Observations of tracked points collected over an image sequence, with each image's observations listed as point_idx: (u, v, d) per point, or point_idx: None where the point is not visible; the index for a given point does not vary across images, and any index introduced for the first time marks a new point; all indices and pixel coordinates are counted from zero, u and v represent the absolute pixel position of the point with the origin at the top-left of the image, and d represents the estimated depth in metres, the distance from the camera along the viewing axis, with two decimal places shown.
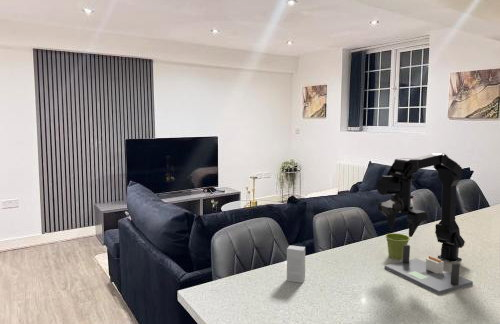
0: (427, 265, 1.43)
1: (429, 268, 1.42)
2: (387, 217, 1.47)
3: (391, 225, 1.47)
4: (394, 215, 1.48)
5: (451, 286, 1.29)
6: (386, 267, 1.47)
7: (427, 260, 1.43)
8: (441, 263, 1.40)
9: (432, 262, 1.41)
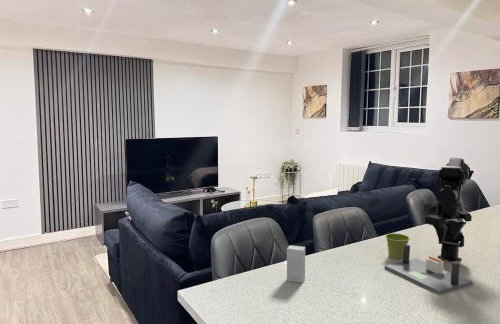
0: (427, 265, 1.43)
1: (429, 268, 1.42)
2: None
3: (452, 234, 1.45)
4: (458, 226, 1.43)
5: (451, 286, 1.29)
6: (386, 267, 1.47)
7: (427, 260, 1.43)
8: (441, 263, 1.40)
9: (432, 262, 1.41)
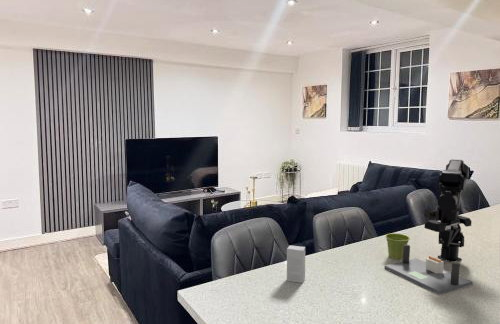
0: (427, 265, 1.43)
1: (429, 268, 1.42)
2: None
3: None
4: None
5: (451, 286, 1.29)
6: (386, 267, 1.47)
7: (427, 260, 1.43)
8: (441, 263, 1.40)
9: (432, 262, 1.41)
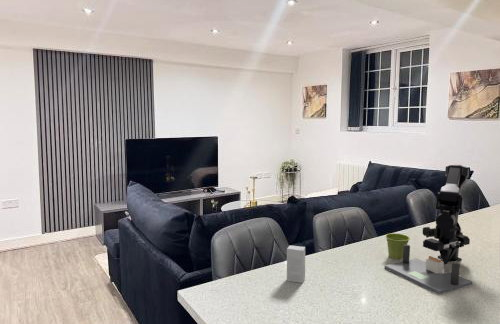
0: (427, 265, 1.43)
1: (429, 268, 1.42)
2: None
3: None
4: None
5: (451, 286, 1.29)
6: (386, 267, 1.47)
7: (427, 260, 1.43)
8: (441, 263, 1.40)
9: (432, 262, 1.41)
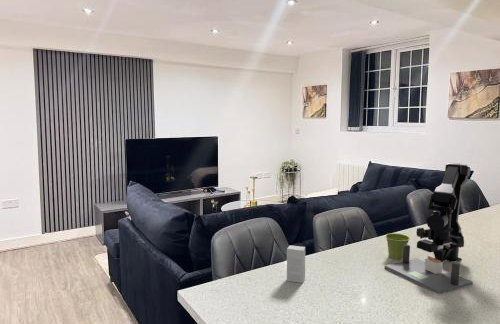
0: (426, 266, 1.43)
1: (428, 268, 1.42)
2: None
3: None
4: None
5: (451, 286, 1.29)
6: (386, 267, 1.47)
7: (426, 260, 1.42)
8: (440, 263, 1.39)
9: (431, 262, 1.41)
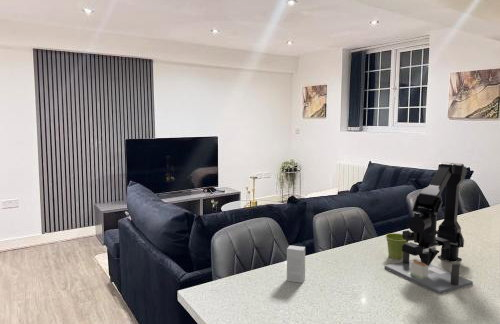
0: (411, 269, 1.40)
1: (414, 272, 1.39)
2: None
3: (425, 263, 1.40)
4: None
5: (451, 286, 1.29)
6: (386, 267, 1.47)
7: (412, 264, 1.39)
8: (426, 267, 1.36)
9: (417, 266, 1.37)
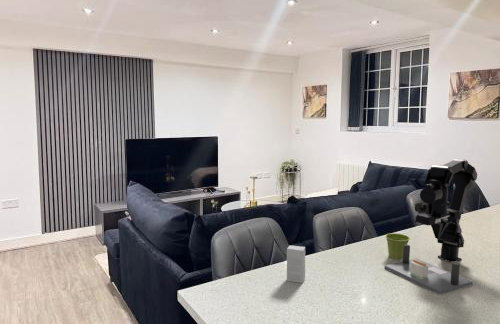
0: (411, 269, 1.40)
1: (414, 272, 1.39)
2: None
3: None
4: None
5: (451, 286, 1.29)
6: (386, 267, 1.47)
7: (412, 264, 1.39)
8: (426, 267, 1.36)
9: (416, 266, 1.37)
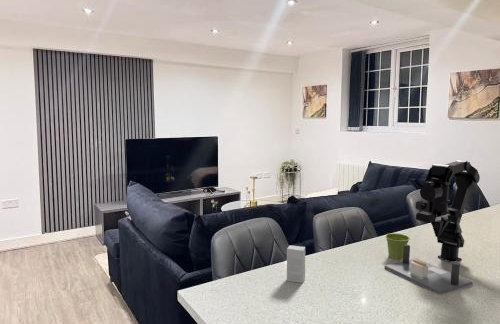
0: (411, 269, 1.40)
1: (414, 272, 1.39)
2: None
3: None
4: None
5: (451, 286, 1.29)
6: (386, 267, 1.47)
7: (412, 264, 1.39)
8: (426, 267, 1.36)
9: (416, 266, 1.37)
